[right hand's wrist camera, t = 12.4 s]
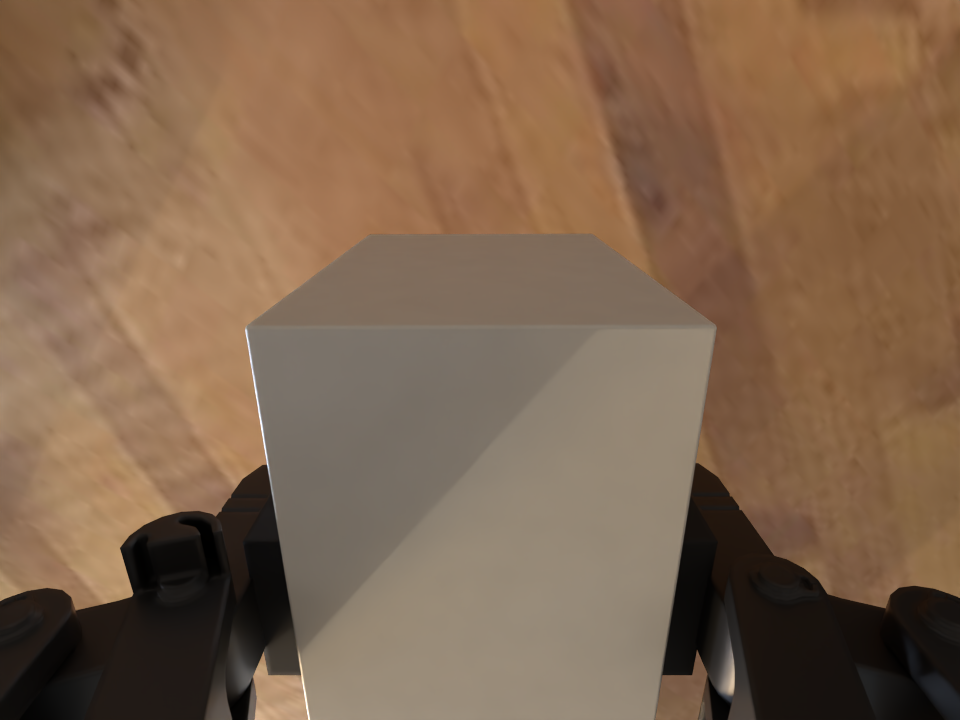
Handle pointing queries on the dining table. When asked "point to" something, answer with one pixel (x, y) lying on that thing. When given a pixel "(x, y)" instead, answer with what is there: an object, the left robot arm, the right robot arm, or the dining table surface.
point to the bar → (481, 475)
